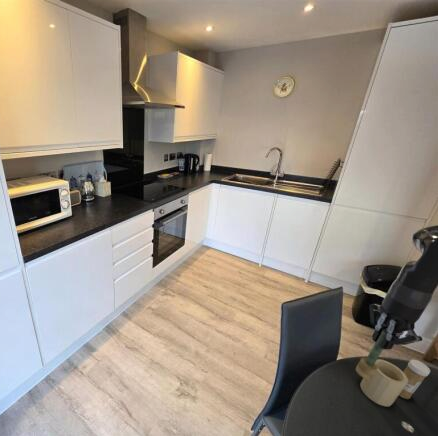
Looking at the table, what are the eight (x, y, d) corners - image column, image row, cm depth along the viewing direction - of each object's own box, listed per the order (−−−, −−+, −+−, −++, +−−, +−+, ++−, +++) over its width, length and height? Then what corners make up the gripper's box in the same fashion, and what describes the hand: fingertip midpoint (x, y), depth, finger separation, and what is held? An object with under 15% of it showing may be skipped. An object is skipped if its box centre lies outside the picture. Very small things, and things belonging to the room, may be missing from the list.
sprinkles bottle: (388, 387, 84) (407, 360, 79) (398, 384, 85) (416, 357, 80) (404, 401, 80) (424, 373, 75) (413, 398, 81) (434, 370, 76)
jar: (386, 388, 84) (401, 366, 79) (396, 411, 77) (412, 389, 73) (357, 376, 87) (370, 355, 83) (363, 398, 80) (377, 375, 76)
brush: (369, 370, 78) (393, 330, 71) (373, 381, 75) (399, 340, 68) (354, 364, 80) (376, 324, 73) (357, 375, 76) (380, 334, 70)
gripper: (450, 317, 60) (416, 366, 66) (395, 282, 72) (371, 326, 79) (421, 317, 59) (390, 366, 66) (371, 281, 72) (349, 326, 79)
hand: (380, 344), depth 72 cm, fingers closed on brush, 2 cm apart
